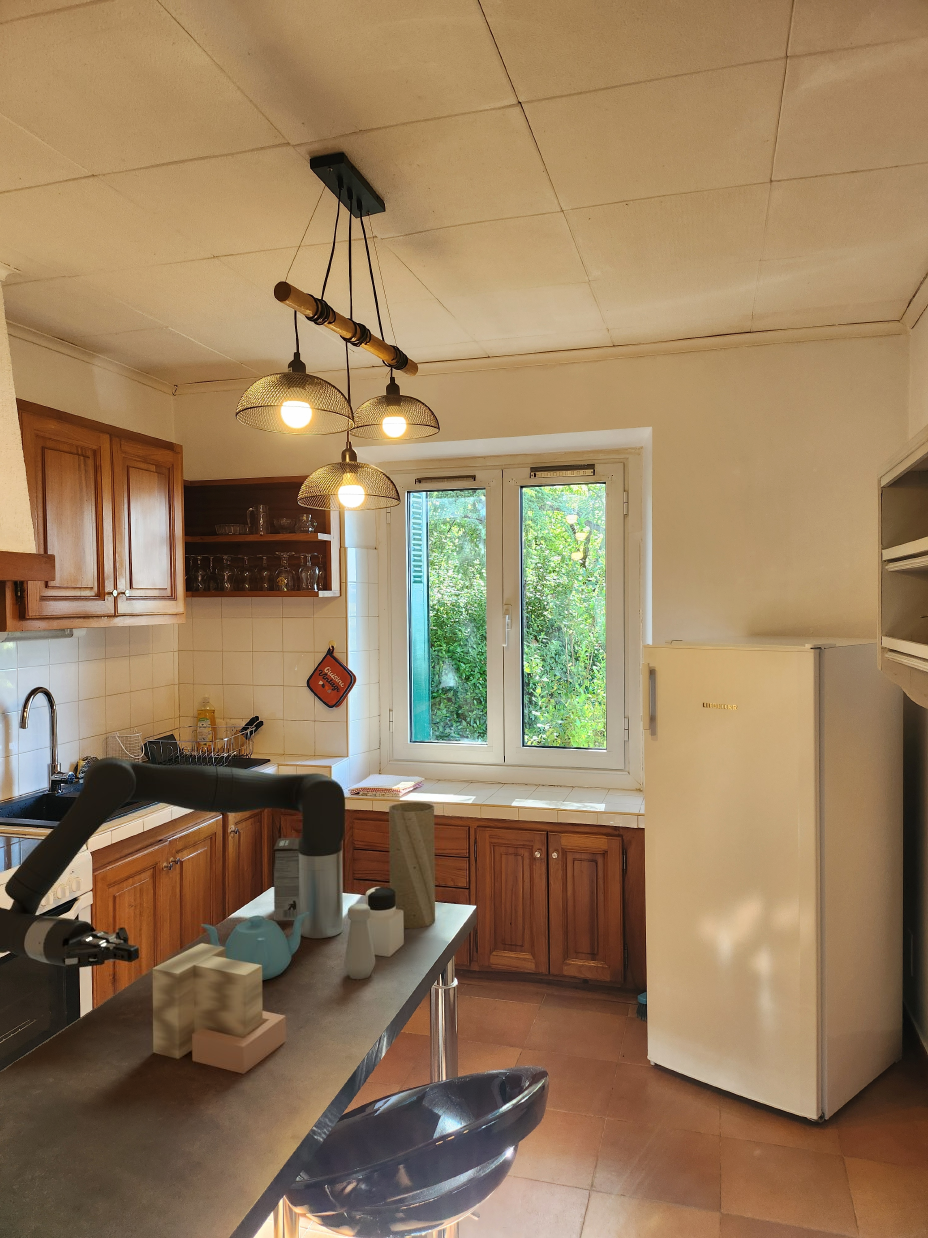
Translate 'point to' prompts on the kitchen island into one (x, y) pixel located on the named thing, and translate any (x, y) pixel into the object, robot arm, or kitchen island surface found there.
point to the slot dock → (239, 1045)
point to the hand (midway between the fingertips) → (135, 954)
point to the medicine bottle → (384, 921)
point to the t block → (204, 998)
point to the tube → (413, 861)
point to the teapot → (261, 944)
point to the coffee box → (286, 879)
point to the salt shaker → (359, 943)
